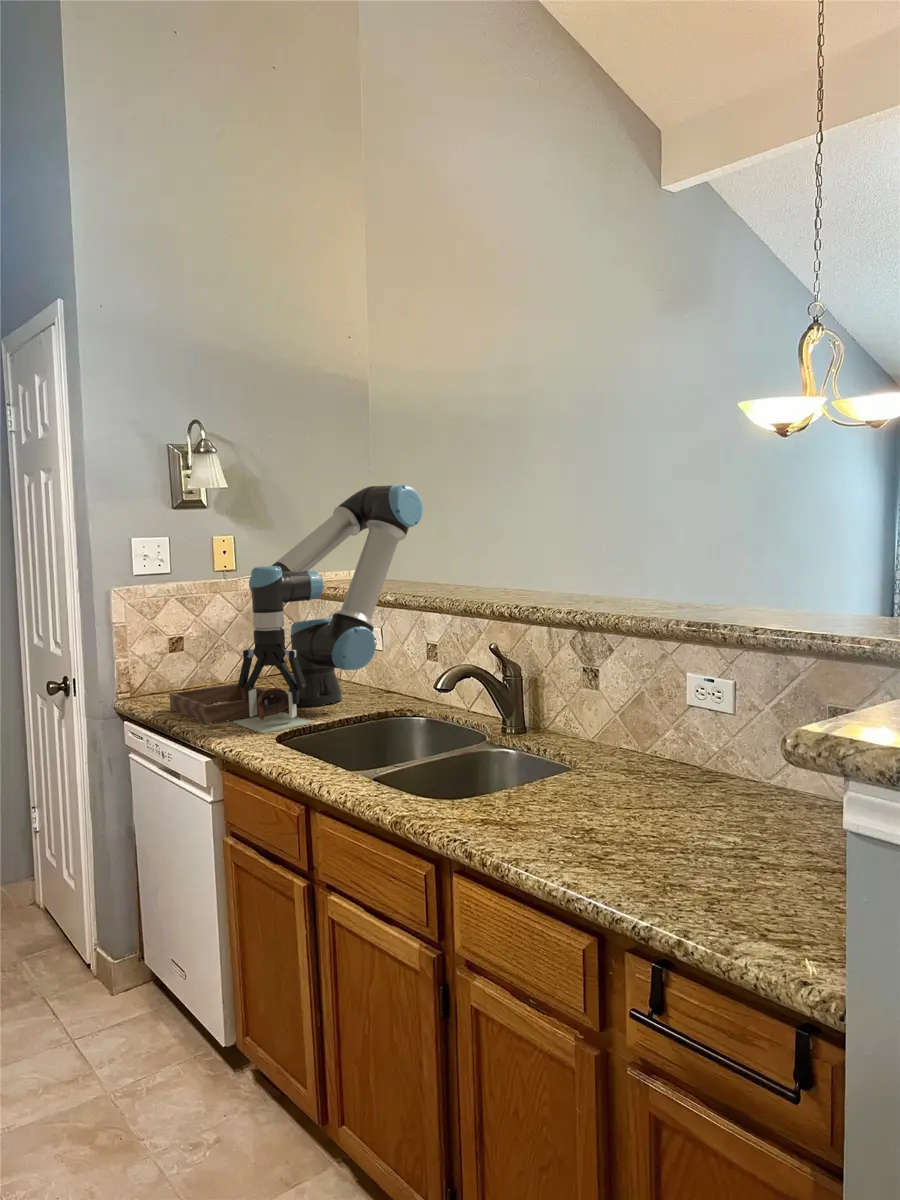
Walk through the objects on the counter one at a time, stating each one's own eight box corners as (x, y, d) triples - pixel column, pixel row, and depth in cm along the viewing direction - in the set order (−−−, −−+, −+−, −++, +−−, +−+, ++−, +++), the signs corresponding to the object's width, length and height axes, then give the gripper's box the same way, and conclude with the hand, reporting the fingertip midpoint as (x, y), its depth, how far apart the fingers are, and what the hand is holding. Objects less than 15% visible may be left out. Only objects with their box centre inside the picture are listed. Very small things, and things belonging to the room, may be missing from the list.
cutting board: (313, 724, 224) (313, 722, 224) (262, 734, 215) (262, 732, 215) (283, 714, 236) (283, 712, 236) (233, 722, 228) (233, 721, 228)
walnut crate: (283, 711, 240) (283, 694, 239) (207, 724, 226) (206, 707, 226) (243, 698, 259) (242, 682, 258) (170, 709, 245) (169, 693, 245)
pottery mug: (304, 715, 229) (297, 691, 224) (277, 738, 223) (270, 714, 218) (272, 699, 235) (265, 675, 230) (245, 721, 229) (237, 697, 224)
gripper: (317, 626, 224) (321, 714, 226) (234, 626, 230) (239, 711, 232) (305, 630, 217) (309, 720, 219) (220, 630, 223) (225, 718, 225)
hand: (273, 716), depth 226 cm, fingers closed on pottery mug, 10 cm apart
